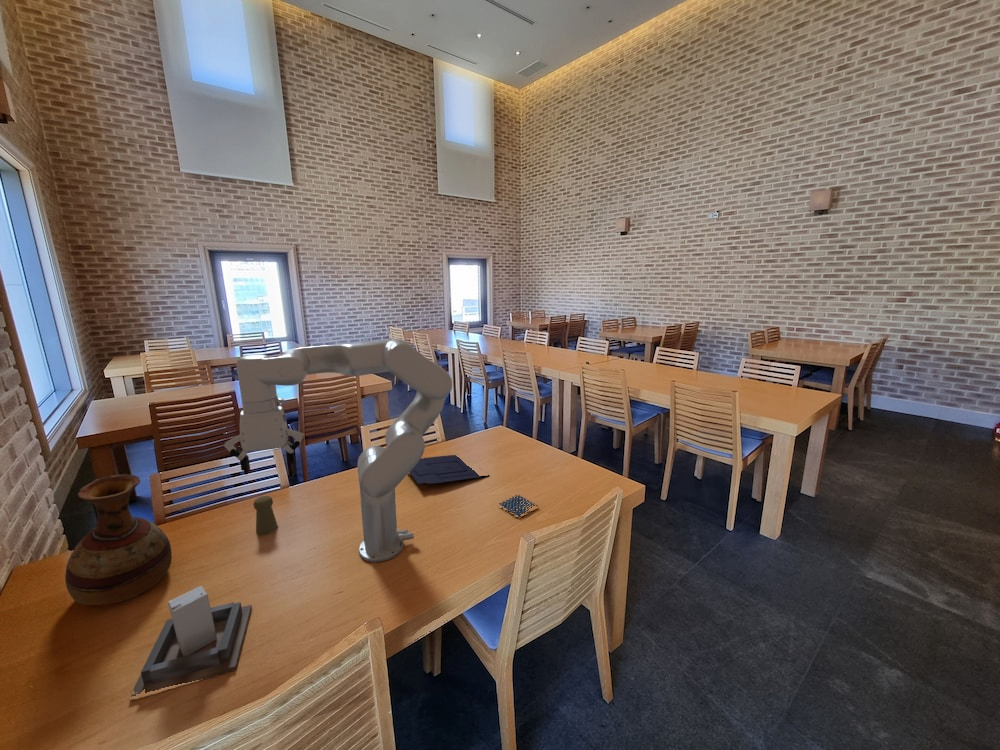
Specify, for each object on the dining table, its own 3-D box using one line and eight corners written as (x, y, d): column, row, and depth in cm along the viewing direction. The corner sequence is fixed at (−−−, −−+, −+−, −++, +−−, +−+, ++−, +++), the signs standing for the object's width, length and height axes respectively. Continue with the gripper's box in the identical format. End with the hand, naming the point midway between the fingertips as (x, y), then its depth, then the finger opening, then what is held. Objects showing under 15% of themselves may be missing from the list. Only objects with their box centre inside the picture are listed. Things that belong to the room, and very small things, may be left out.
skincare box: (211, 629, 89) (202, 583, 86) (218, 640, 86) (209, 593, 84) (177, 648, 85) (166, 600, 82) (183, 660, 82) (172, 611, 79)
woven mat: (518, 521, 133) (518, 516, 132) (497, 508, 140) (497, 503, 140) (539, 510, 140) (539, 504, 139) (518, 498, 147) (518, 493, 147)
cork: (268, 536, 123) (263, 504, 121) (251, 533, 125) (246, 502, 122) (282, 524, 129) (278, 494, 127) (266, 522, 130) (261, 492, 128)
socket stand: (251, 608, 96) (249, 594, 95) (235, 670, 81) (233, 654, 80) (165, 629, 90) (161, 615, 89) (130, 701, 75) (125, 684, 74)
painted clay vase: (86, 629, 90) (53, 511, 83) (61, 593, 100) (30, 485, 94) (188, 577, 106) (167, 474, 99) (157, 550, 117) (137, 455, 110)
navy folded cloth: (400, 466, 168) (400, 458, 167) (464, 459, 183) (465, 452, 183) (419, 492, 147) (419, 483, 147) (489, 482, 163) (490, 474, 162)
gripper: (300, 397, 104) (307, 458, 108) (223, 404, 98) (233, 468, 102) (298, 405, 98) (305, 469, 102) (214, 413, 91) (225, 481, 95)
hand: (269, 469), depth 102 cm, fingers open, 9 cm apart
